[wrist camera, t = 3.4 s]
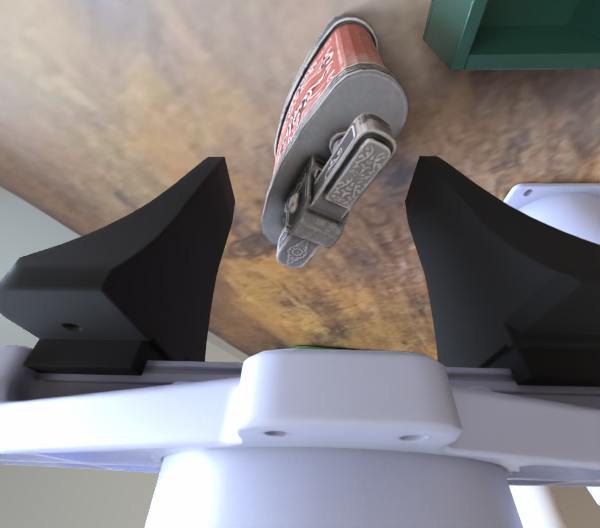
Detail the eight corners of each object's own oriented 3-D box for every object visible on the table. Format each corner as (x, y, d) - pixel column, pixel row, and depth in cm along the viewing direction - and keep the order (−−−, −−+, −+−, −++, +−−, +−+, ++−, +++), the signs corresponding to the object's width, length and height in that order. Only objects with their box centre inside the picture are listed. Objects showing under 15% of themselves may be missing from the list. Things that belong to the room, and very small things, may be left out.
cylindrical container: (512, 386, 50) (605, 607, 34) (511, 398, 55) (591, 596, 39) (466, 391, 53) (533, 598, 37) (469, 401, 58) (528, 588, 42)
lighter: (311, 172, 19) (309, 300, 13) (263, 150, 18) (236, 277, 12) (392, 38, 14) (461, 147, 7) (330, -6, 13) (347, 78, 6)
